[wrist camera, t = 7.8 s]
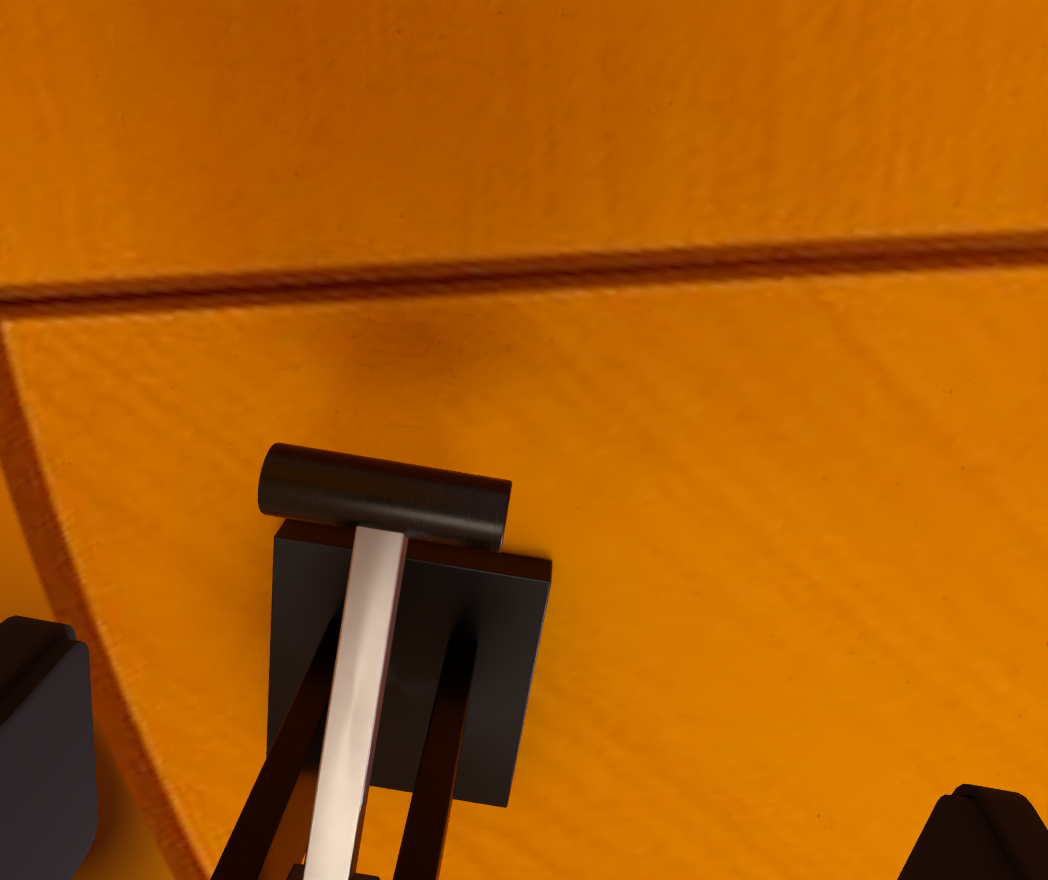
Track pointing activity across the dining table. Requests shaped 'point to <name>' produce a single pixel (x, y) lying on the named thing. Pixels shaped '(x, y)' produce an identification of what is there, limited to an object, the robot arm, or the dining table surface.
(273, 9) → the dining table surface
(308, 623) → the bracket
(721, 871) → the dining table surface
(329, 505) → the lever
